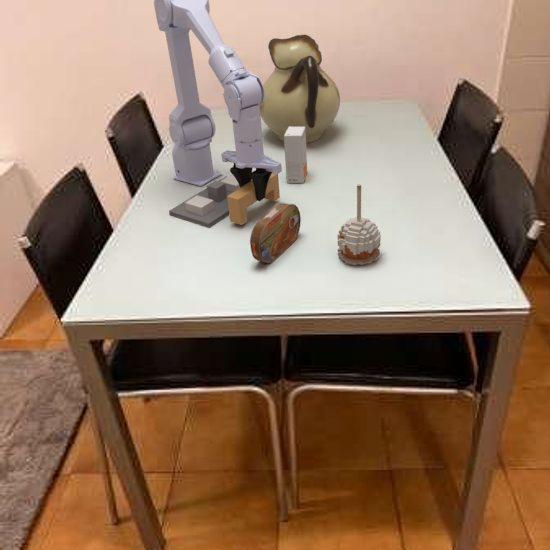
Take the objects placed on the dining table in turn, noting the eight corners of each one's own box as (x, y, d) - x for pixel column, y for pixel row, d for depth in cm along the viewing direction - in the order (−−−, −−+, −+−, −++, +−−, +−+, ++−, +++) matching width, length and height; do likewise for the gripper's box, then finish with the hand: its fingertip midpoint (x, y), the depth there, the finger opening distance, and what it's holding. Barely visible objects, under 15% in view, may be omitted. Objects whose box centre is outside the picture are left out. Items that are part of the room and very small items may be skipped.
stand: (169, 214, 134) (166, 196, 131) (226, 180, 147) (224, 163, 144) (209, 227, 128) (206, 209, 125) (265, 190, 141) (263, 172, 138)
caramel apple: (348, 242, 119) (348, 173, 110) (385, 250, 115) (388, 179, 107) (331, 261, 114) (329, 190, 105) (369, 271, 110) (371, 198, 102)
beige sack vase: (290, 116, 180) (284, 29, 166) (359, 129, 168) (359, 36, 154) (244, 143, 166) (234, 50, 152) (316, 159, 154) (312, 60, 139)
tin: (263, 271, 113) (259, 233, 108) (249, 267, 114) (245, 229, 109) (303, 234, 123) (300, 197, 118) (289, 231, 124) (287, 194, 120)
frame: (230, 221, 127) (226, 196, 124) (269, 194, 136) (267, 170, 133) (241, 224, 126) (238, 199, 122) (279, 197, 135) (278, 173, 131)
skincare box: (304, 183, 142) (301, 135, 135) (286, 183, 143) (283, 135, 136) (308, 172, 147) (305, 126, 140) (290, 172, 148) (287, 126, 141)
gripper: (208, 138, 123) (217, 197, 131) (264, 151, 115) (270, 212, 123) (230, 127, 127) (237, 184, 135) (285, 138, 120) (289, 198, 128)
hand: (254, 197), depth 129 cm, fingers closed on frame, 3 cm apart
